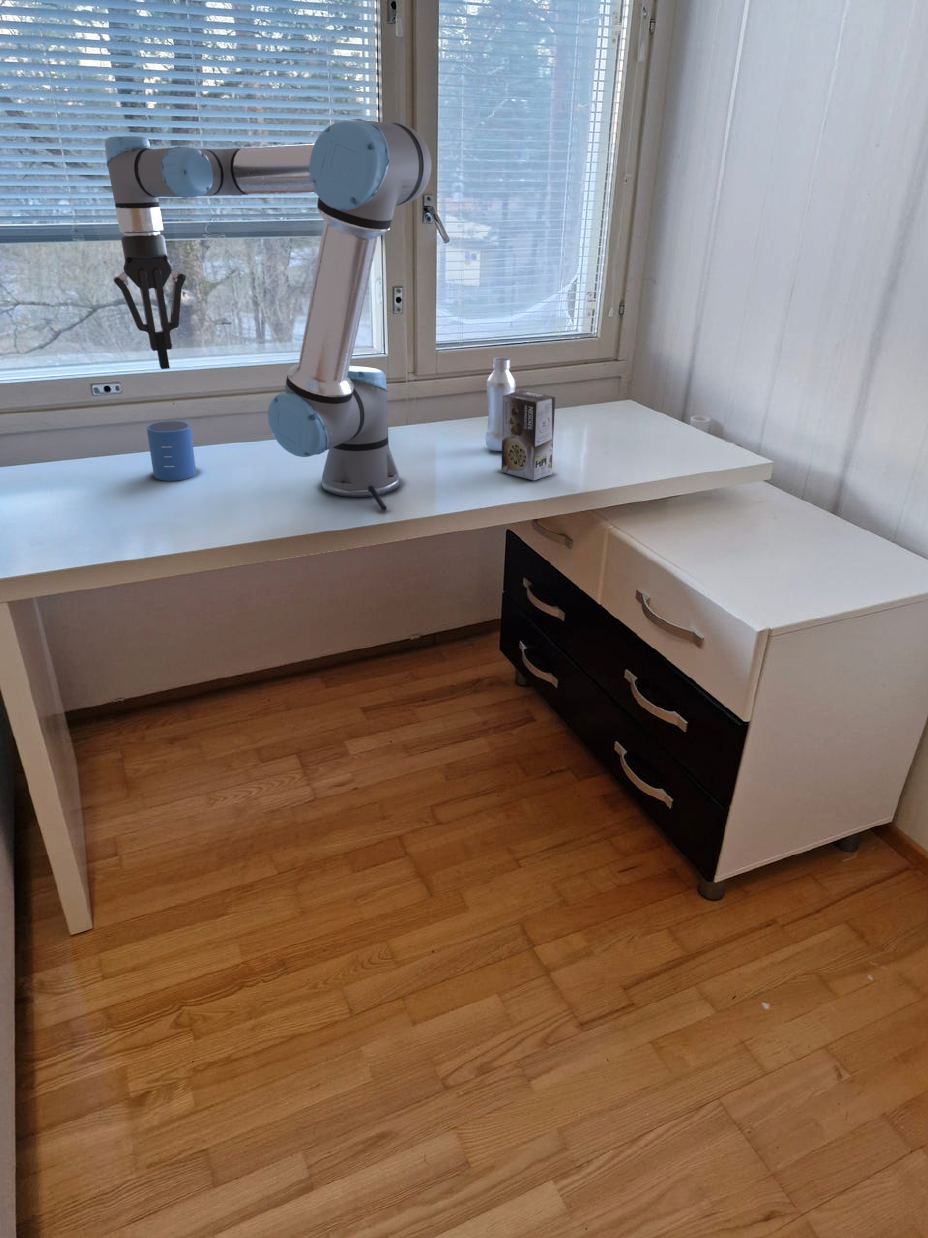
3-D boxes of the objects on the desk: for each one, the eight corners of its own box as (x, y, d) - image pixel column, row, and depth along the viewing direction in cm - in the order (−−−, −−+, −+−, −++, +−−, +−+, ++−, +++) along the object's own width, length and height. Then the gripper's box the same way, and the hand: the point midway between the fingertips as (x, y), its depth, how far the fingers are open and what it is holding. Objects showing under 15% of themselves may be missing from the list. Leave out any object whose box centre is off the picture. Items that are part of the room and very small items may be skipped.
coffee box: (553, 474, 180) (557, 396, 173) (533, 481, 176) (537, 401, 169) (519, 465, 186) (521, 388, 178) (499, 471, 182) (501, 394, 174)
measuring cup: (158, 468, 182) (199, 467, 183) (149, 481, 175) (192, 480, 176) (151, 420, 178) (193, 420, 178) (142, 431, 170) (186, 431, 171)
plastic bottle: (519, 448, 196) (522, 358, 187) (504, 456, 191) (507, 363, 182) (494, 444, 199) (496, 354, 190) (479, 451, 194) (480, 359, 185)
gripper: (176, 231, 162) (196, 361, 173) (102, 234, 157) (127, 367, 168) (182, 233, 156) (202, 367, 167) (105, 236, 151) (131, 374, 162)
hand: (164, 367), depth 167 cm, fingers closed
